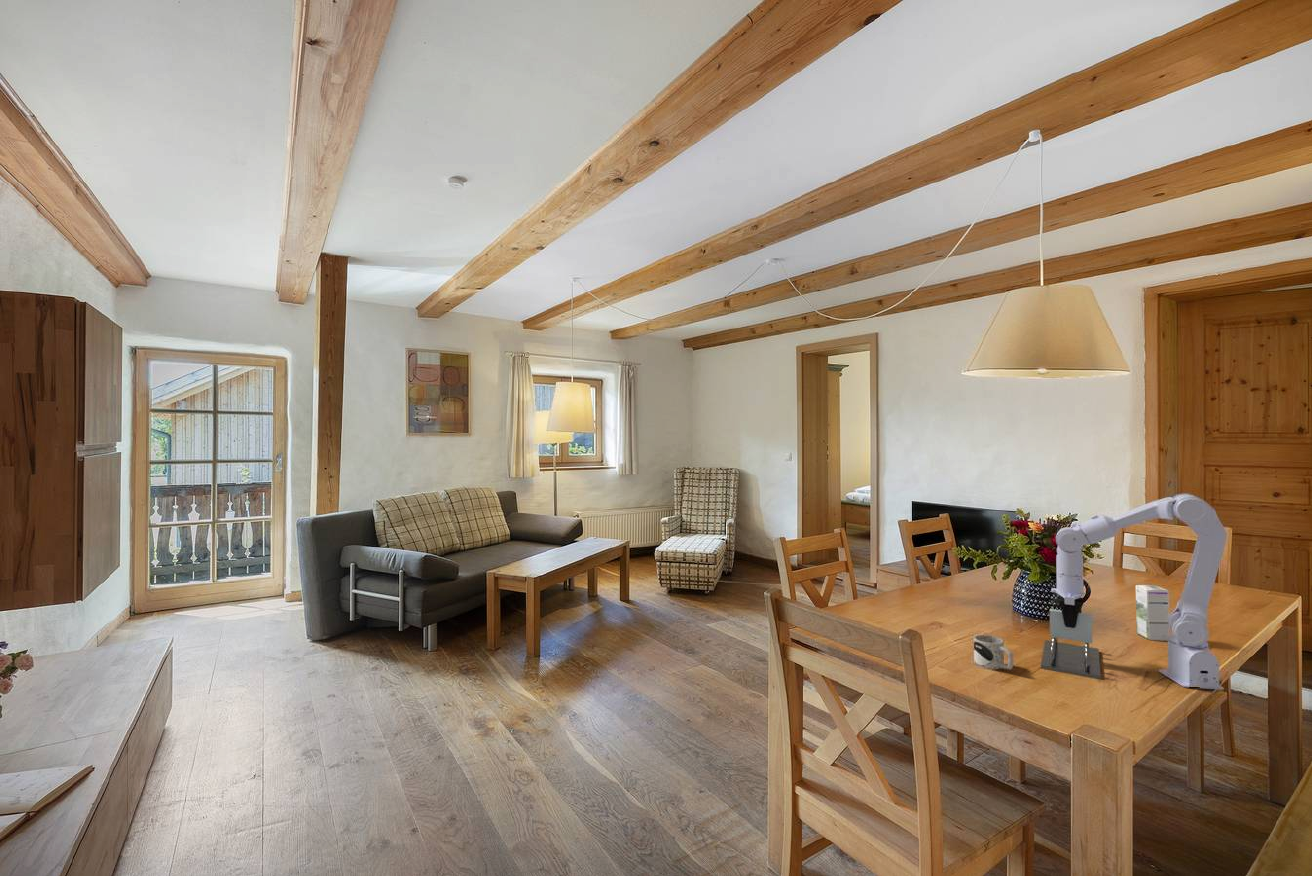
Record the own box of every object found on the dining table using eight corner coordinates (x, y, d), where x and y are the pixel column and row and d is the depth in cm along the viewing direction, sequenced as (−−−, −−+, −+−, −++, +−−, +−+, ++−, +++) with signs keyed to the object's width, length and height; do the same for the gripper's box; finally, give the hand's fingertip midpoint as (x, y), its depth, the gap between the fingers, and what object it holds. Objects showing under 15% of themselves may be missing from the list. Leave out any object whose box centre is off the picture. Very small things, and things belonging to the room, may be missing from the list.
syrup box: (1171, 641, 165) (1170, 590, 165) (1147, 640, 166) (1146, 589, 166) (1158, 634, 171) (1157, 585, 171) (1135, 633, 172) (1134, 584, 172)
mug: (968, 662, 152) (967, 636, 152) (986, 658, 154) (986, 633, 154) (1003, 676, 142) (1002, 649, 142) (1022, 672, 145) (1022, 645, 145)
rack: (1100, 679, 140) (1100, 657, 140) (1040, 668, 147) (1040, 647, 147) (1098, 651, 158) (1098, 632, 158) (1045, 642, 165) (1044, 624, 165)
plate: (1092, 643, 149) (1092, 616, 149) (1050, 636, 154) (1049, 610, 154) (1092, 641, 150) (1091, 614, 150) (1050, 635, 156) (1049, 609, 156)
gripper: (1052, 567, 161) (1052, 616, 161) (1050, 577, 149) (1050, 630, 149) (1084, 570, 156) (1084, 620, 156) (1084, 581, 145) (1084, 636, 145)
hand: (1070, 626), depth 152 cm, fingers closed on plate, 2 cm apart
